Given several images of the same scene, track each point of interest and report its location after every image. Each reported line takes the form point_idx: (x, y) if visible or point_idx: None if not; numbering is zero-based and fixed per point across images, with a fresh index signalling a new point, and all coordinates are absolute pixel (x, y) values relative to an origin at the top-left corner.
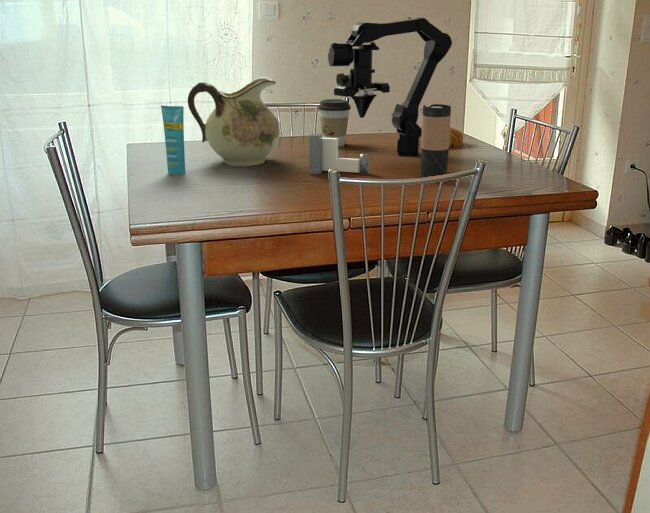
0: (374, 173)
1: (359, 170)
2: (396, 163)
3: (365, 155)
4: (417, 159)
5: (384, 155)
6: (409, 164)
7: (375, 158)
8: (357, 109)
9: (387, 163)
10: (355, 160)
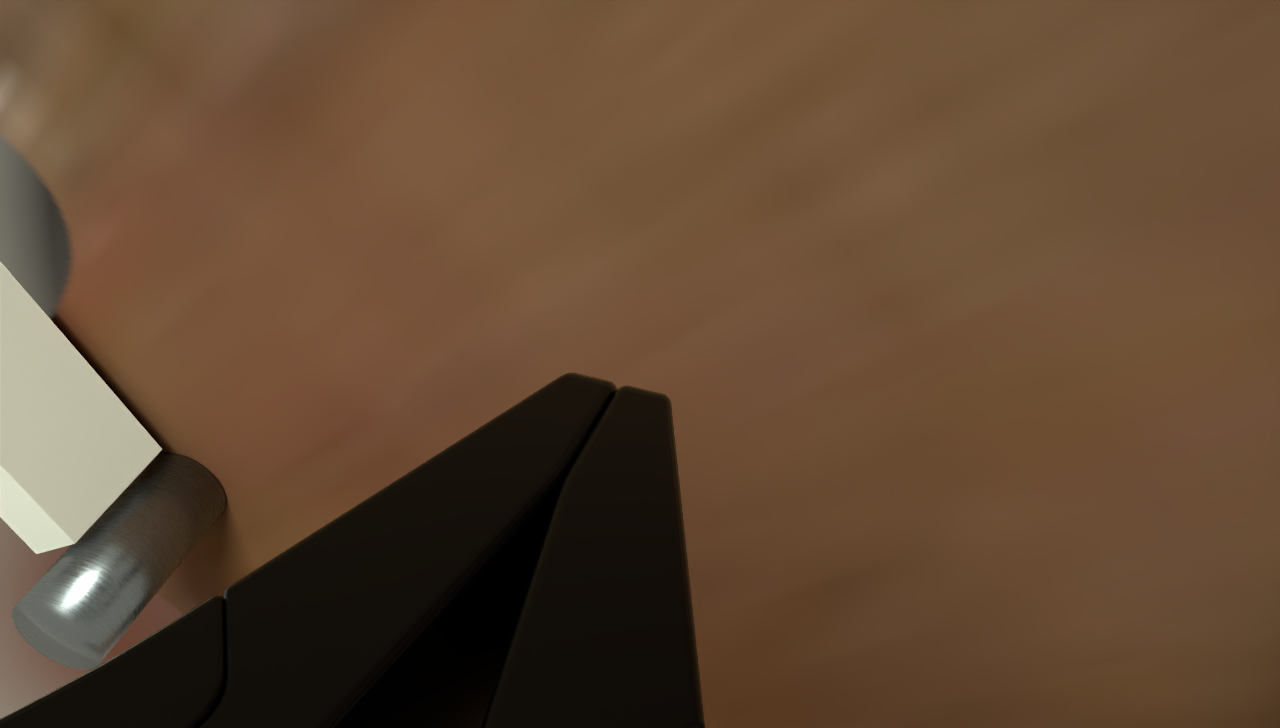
0: (275, 549)
1: (153, 456)
2: (811, 547)
3: (47, 656)
4: (1222, 655)
5: (1271, 182)
6: (864, 664)
7: (920, 195)
8: (327, 537)
9: (735, 471)
10: (18, 523)
